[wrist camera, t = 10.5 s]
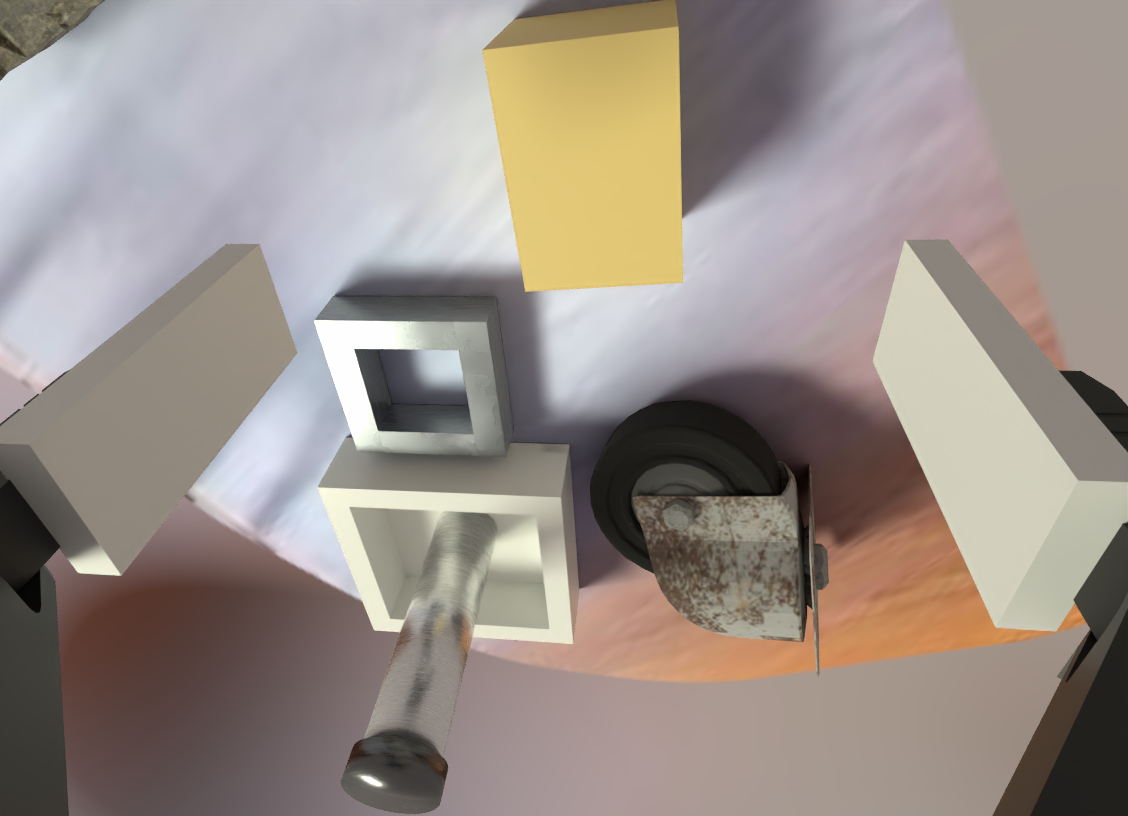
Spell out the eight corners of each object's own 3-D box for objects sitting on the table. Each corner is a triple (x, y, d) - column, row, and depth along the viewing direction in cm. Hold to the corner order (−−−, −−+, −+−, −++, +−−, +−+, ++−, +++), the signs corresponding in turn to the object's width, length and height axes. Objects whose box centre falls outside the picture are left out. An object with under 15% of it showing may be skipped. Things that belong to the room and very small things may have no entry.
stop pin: (498, 503, 34) (430, 774, 24) (507, 551, 36) (448, 817, 26) (426, 500, 34) (329, 765, 24) (439, 548, 37) (355, 808, 27)
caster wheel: (600, 384, 33) (819, 371, 29) (636, 567, 37) (828, 576, 34) (558, 453, 27) (822, 448, 23) (605, 659, 32) (833, 681, 28)
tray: (345, 437, 33) (317, 487, 30) (569, 444, 32) (560, 497, 29) (393, 579, 40) (374, 630, 37) (579, 590, 39) (573, 643, 36)
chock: (515, 18, 21) (482, 50, 17) (675, -3, 20) (679, 26, 16) (546, 228, 25) (525, 291, 21) (679, 218, 25) (683, 282, 21)
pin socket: (333, 296, 28) (314, 320, 27) (496, 296, 27) (486, 322, 26) (372, 424, 32) (357, 451, 31) (513, 428, 32) (506, 456, 30)
